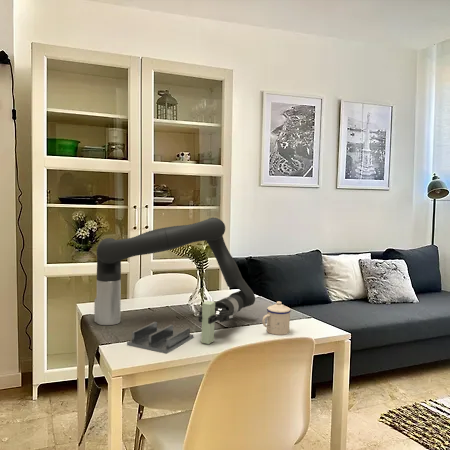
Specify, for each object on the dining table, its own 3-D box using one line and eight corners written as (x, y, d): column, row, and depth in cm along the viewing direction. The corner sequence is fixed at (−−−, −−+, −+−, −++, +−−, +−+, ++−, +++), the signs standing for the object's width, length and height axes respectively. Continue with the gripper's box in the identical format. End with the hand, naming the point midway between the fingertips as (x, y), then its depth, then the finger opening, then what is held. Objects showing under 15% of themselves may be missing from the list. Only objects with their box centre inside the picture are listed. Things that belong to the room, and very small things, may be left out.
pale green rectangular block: (201, 342, 157) (202, 303, 156) (206, 339, 161) (207, 300, 159) (208, 344, 156) (210, 304, 154) (213, 340, 159) (215, 302, 158)
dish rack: (127, 344, 153) (127, 333, 153) (156, 330, 170) (156, 320, 169) (166, 353, 147) (167, 341, 146) (193, 337, 163) (193, 326, 162)
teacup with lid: (279, 326, 179) (280, 297, 178) (294, 333, 171) (296, 303, 170) (255, 330, 172) (256, 301, 171) (269, 338, 165) (270, 307, 164)
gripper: (209, 296, 173) (187, 306, 157) (242, 301, 167) (223, 312, 151) (208, 315, 174) (186, 327, 158) (242, 320, 168) (222, 334, 152)
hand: (204, 320), depth 155 cm, fingers closed on pale green rectangular block, 3 cm apart
